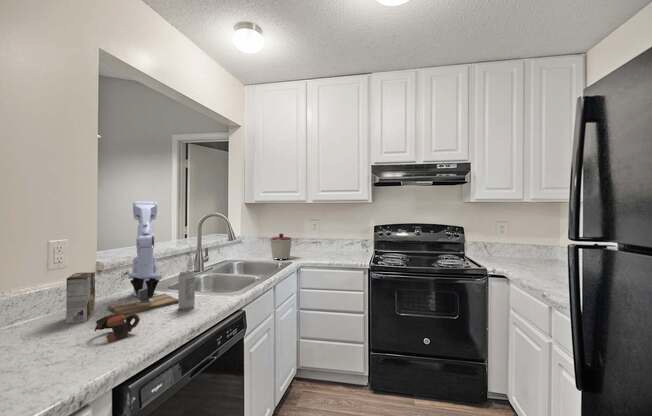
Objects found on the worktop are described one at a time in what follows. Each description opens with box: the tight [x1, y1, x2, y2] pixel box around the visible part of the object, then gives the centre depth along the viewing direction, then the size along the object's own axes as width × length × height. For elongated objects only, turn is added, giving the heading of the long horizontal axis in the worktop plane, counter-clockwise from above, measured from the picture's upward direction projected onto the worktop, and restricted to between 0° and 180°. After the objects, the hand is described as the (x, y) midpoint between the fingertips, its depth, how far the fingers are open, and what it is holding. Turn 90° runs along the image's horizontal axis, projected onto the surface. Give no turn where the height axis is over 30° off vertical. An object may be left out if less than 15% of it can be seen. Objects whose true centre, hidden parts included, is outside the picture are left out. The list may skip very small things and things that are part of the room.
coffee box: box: [65, 271, 96, 325], centre depth 111 cm, size 9×6×16 cm
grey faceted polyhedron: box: [136, 289, 152, 300], centre depth 127 cm, size 5×6×4 cm
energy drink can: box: [177, 269, 196, 310], centre depth 124 cm, size 6×6×15 cm
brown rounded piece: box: [93, 312, 141, 343], centre depth 97 cm, size 12×10×8 cm
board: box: [107, 293, 178, 316], centre depth 127 cm, size 15×22×2 cm
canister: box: [269, 233, 293, 259], centre depth 245 cm, size 18×18×21 cm
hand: (144, 296), depth 127 cm, fingers closed on grey faceted polyhedron, 5 cm apart
